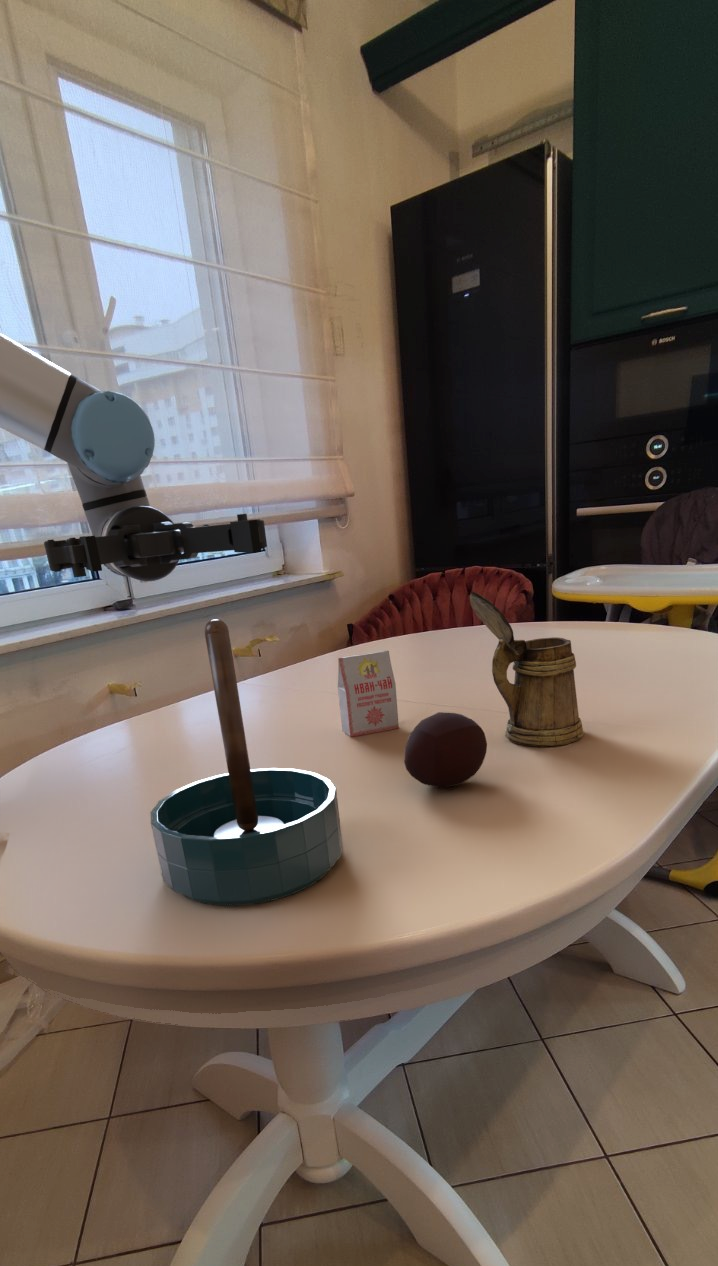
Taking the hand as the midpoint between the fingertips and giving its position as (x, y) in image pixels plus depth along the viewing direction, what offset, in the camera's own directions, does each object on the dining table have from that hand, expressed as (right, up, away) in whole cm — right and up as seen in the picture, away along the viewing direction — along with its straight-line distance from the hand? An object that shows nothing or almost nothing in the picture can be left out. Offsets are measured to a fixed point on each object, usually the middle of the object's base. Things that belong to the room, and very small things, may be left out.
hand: (177, 544), depth 61 cm
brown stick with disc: (+6, -26, +1) cm, 27 cm away
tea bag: (+17, -12, +36) cm, 41 cm away
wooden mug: (+35, -14, +26) cm, 46 cm away
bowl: (+6, -27, +1) cm, 28 cm away
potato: (+24, -20, +14) cm, 35 cm away
